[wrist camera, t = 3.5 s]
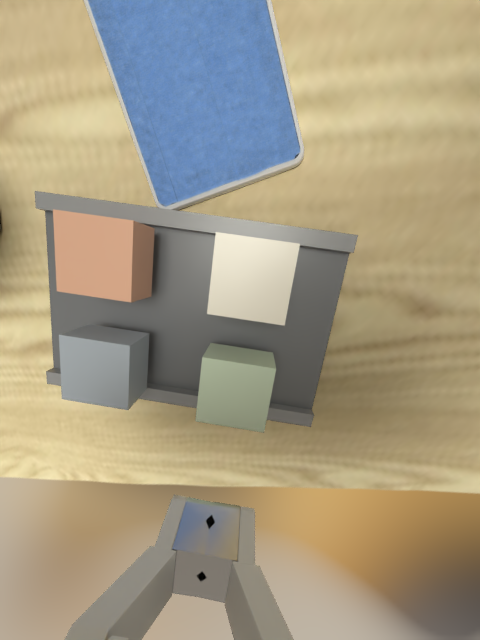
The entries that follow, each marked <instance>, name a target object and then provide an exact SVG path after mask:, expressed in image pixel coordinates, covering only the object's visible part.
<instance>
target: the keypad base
mask: <svg viewBox="0 0 480 640" xmlns="http://www.w3.org/2000/svg"><path fill="white" fill-rule="evenodd" d="M35 202H36V208H37V209H40V210H44V211H45V216H46V234H47V252H48V270H49V288H50V307H51V325H52V343H53V361H54V368H52V369H50V370H48V371H46V375H47V384H53V385H59V386H61V369H60V348H59V334H62V333H65V332H68V331H71V330H74V329H77V328H79V327H82V326H85V325H88V324H93V325H99V326H105V327H112V328H118V329H125V330H131V331H138V332H144V333H150V334H149V354H148V375H147V389H146V390H145V391H144V393H143V394H142V395H141V396H140V397H139V398H138V399H144V400H150V401H156V402H162V403H168V404H174V405H180V406H186V407H192V408H197V402H198V392H199V383H200V374H201V364H202V357H203V355H204V353H205V352H206V350H207V348H208V347H209V345H210V343H215V344H222V345H228V346H235V347H241V348H247V349H254V350H260V351H267V352H273V355H274V360H275V365H276V373H275V378H274V383H273V389H272V394H271V399H270V404H269V410H268V415H267V420H271V421H277V422H284V423H290V424H296V425H302V426H308V427H311V425H312V421H313V416H314V414H313V412H312V406H313V402H314V398H315V394H316V389H317V385H318V381H319V377H320V373H321V369H322V365H323V360H324V356H325V352H326V348H327V344H328V340H329V335H330V331H331V327H332V323H333V319H334V315H335V311H336V306H337V302H338V298H339V294H340V290H341V286H342V281H343V277H344V273H345V269H346V265H347V261H348V257H349V253H354V249H355V245H356V241H357V237H358V235H353V234H345V233H338V232H331V231H323V230H316V229H309V228H301V227H294V226H287V225H279V224H272V223H265V222H258V221H250V220H243V219H236V218H228V217H221V216H214V215H206V214H199V213H192V212H184V211H177V210H170V209H162V208H155V207H148V206H141V205H133V204H126V203H119V202H111V201H104V200H97V199H89V198H82V197H75V196H67V195H60V194H53V193H45V192H38V191H35ZM53 209H54V210H61V211H69V212H76V213H83V214H90V215H97V216H105V217H112V218H119V219H126V220H133V221H136V222H139V223H142V224H144V225H147V226H150V227H152V228H155V231H154V252H153V272H152V293H151V297H148V298H145V299H141V300H138V301H134V302H124V301H118V300H111V299H105V298H98V297H91V296H85V295H78V294H71V293H65V292H58V291H57V285H56V264H55V243H54V222H53ZM216 232H220V233H227V234H234V235H241V236H248V237H256V238H263V239H270V240H277V241H284V242H292V243H299V244H300V247H299V252H298V258H297V263H296V268H295V273H294V279H293V284H292V289H291V294H290V299H289V305H288V310H287V315H286V320H285V326H283V325H277V324H270V323H264V322H257V321H250V320H244V319H237V318H230V317H224V316H217V315H211V314H207V309H208V299H209V290H210V281H211V272H212V262H213V253H214V244H215V234H216Z"/></svg>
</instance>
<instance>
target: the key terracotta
mask: <svg viewBox="0 0 480 640" xmlns="http://www.w3.org/2000/svg"><path fill="white" fill-rule="evenodd" d="M53 222H54V243H55V264H56V285H57V291H58V292H65V293H71V294H78V295H85V296H91V297H98V298H105V299H111V300H118V301H124V302H134V301H138V300H141V299H145V298H148V297H151V293H152V272H153V252H154V231H155V228H152V227H150V226H147V225H144V224H142V223H139V222H136V221H133V220H126V219H119V218H112V217H105V216H97V215H90V214H83V213H76V212H69V211H61V210H54V209H53Z"/></svg>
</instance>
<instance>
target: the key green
mask: <svg viewBox="0 0 480 640" xmlns="http://www.w3.org/2000/svg"><path fill="white" fill-rule="evenodd" d="M275 373H276V365H275V360H274V355H273V352H267V351H260V350H254V349H247V348H241V347H235V346H228V345H222V344H215V343H210V345H209V347H208V348H207V350H206V352H205V353H204V355H203V357H202V364H201V374H200V383H199V392H198V402H197V411H196V420H195V421H197V422H203V423H209V424H215V425H221V426H227V427H233V428H239V429H245V430H251V431H257V432H263V433H264V430H265V425H266V420H267V415H268V410H269V404H270V399H271V394H272V389H273V383H274V378H275Z"/></svg>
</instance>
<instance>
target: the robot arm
mask: <svg viewBox="0 0 480 640" xmlns="http://www.w3.org/2000/svg"><path fill="white" fill-rule="evenodd" d="M172 593H175V594H182V595H188V596H195V597H201V598H205V599H209V600H214V601H219V602H223V603H225V608H226V611H227V615H228V619H229V623H230V626H231V630H232V634H233V637H234V640H294V639H293V637H292V635H291V633H290V631H289V629H288V626H287V624H286V622H285V620H284V618H283V616H282V614H281V611H280V609H279V607H278V605H277V603H276V601H275V599H274V596H273V594H272V592H271V590H270V588H269V585H268V584H267V581H266V579H265V577H264V575H263V573H262V570H261V568H260V566H257V565H255V511H254V509H253V508H247V507H240V506H237V505H231V504H225V503H219V502H209V501H204V500H199V499H195V498H190V497H185V496H179V495H174V496H173V498H172V500H171V503H170V505H169V508H168V511H167V514H166V516H165V519H164V522H163V525H162V527H161V530H160V533H159V536H158V539H157V541H156V544H155V547H153V546H150V547H149V548H148V549H147V550H146V551H145V552H144V553H143V554H142V555H141V556H140V557H139V558H138V559H137V560H136V561H135V562H134V563H133V564H132V565H131V566H130V567H129V568H128V569H127V570H126V571H125V572H124V573H123V574H122V575H121V576H120V577H119V578H118V579H117V580H116V581H115V582H114V583H113V584H112V585H111V586H110V587H109V588H108V589H107V590H106V591H105V592H104V593H103V594H102V595H101V596H100V597H99V598H98V599H97V600H96V601H95V602H94V603H93V604H92V605H91V606H90V607H89V608H88V609H87V610H86V612H84V613H83V614H82V615H81V616H80V617H79V618H78V620H76V622H75V623H74V624H73V625H72V627H71V628H70V630H69V632H68V634H67V636H66V638H65V640H142V638H143V637H144V635H145V634H146V632H147V631H148V629H149V628H150V626H151V625H152V624H153V622H154V621H155V619H156V618H157V616H158V615H159V613H160V612H161V611H162V609H163V608H164V606H165V605H166V603H167V602H168V600H169V599H170V597H171V596H172Z"/></svg>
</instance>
